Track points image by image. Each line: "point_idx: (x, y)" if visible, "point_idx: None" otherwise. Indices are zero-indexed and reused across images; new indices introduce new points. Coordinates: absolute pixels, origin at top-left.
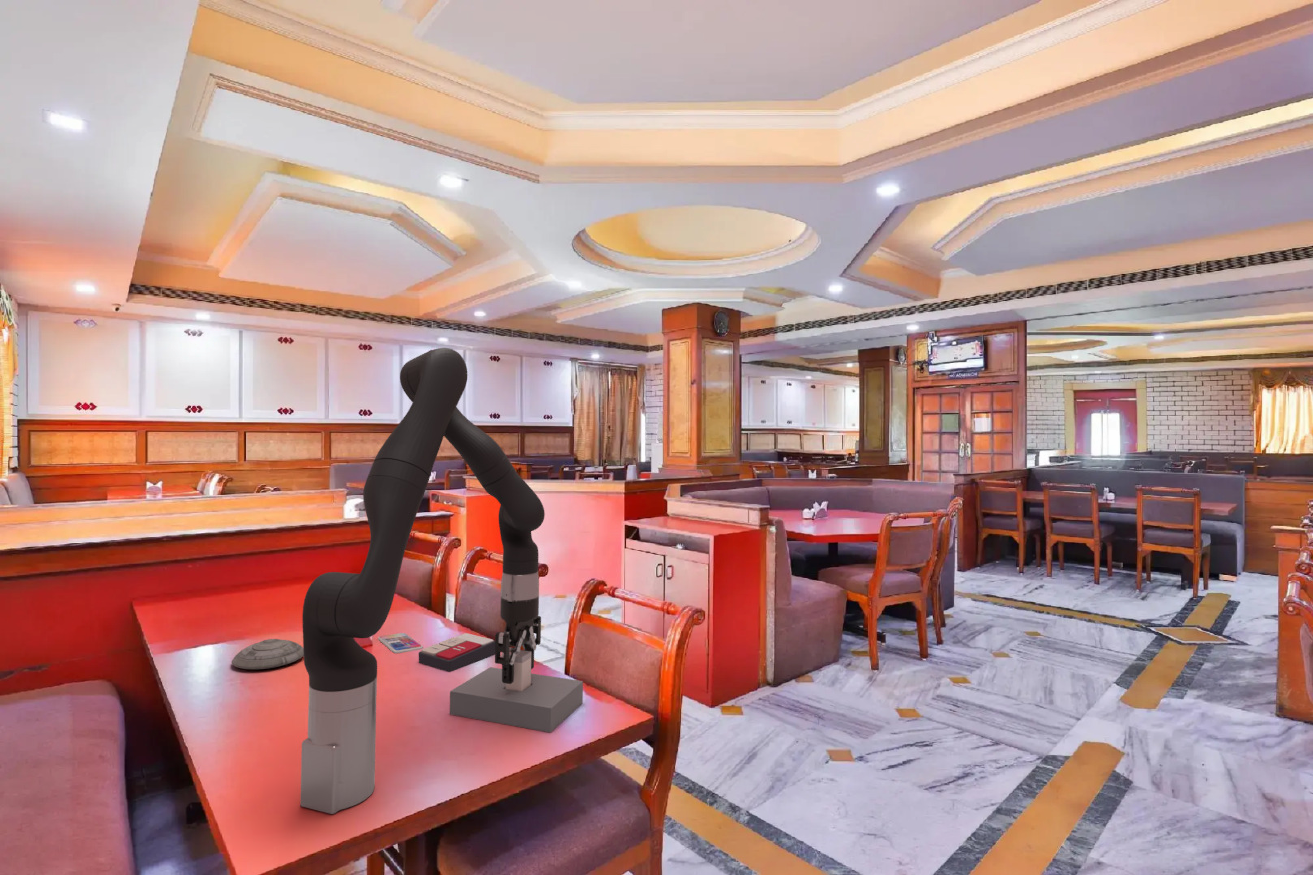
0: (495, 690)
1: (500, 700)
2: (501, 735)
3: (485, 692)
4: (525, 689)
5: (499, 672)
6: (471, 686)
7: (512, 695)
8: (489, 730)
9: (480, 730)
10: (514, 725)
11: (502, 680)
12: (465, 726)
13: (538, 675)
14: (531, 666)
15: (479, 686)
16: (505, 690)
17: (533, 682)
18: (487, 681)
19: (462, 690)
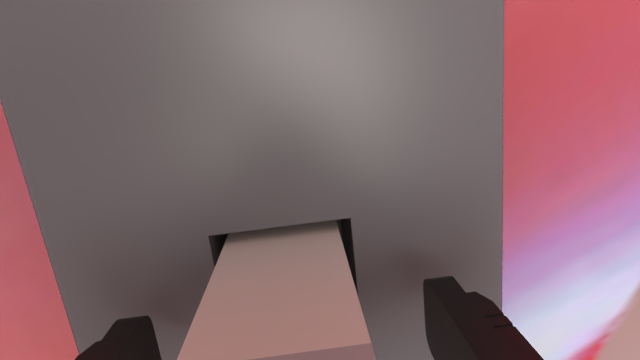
0: (157, 217)
1: (72, 325)
2: (49, 334)
3: (97, 181)
4: None
5: (434, 27)
6: (116, 20)
7: (158, 345)
8: (51, 267)
9: (26, 235)
10: None
11: (93, 345)
12: (10, 150)
13: (485, 292)
14: (433, 353)
15: (147, 77)
16: (192, 269)
17: (377, 329)
18: (250, 65)
19: (20, 12)
